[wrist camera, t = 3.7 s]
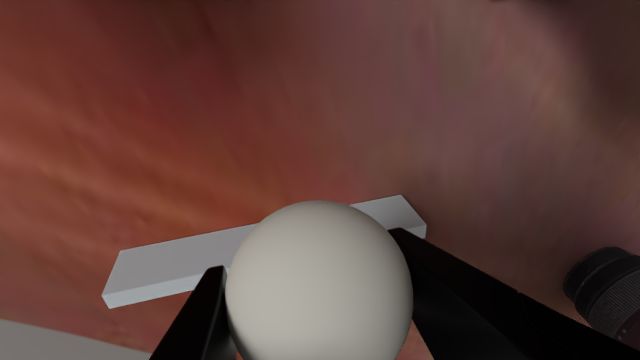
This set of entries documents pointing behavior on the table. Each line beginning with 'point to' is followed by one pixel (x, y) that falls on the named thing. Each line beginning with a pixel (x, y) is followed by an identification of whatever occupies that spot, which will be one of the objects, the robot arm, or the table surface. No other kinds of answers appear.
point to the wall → (215, 255)
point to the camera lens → (608, 293)
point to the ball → (319, 287)
